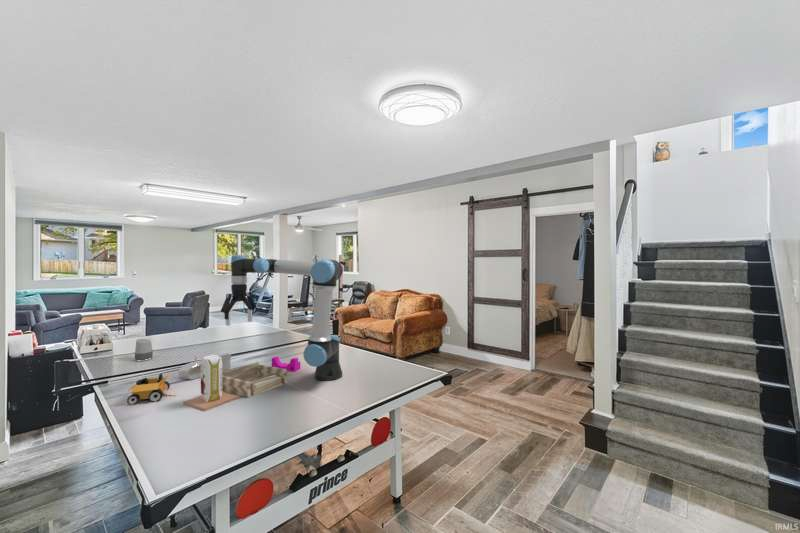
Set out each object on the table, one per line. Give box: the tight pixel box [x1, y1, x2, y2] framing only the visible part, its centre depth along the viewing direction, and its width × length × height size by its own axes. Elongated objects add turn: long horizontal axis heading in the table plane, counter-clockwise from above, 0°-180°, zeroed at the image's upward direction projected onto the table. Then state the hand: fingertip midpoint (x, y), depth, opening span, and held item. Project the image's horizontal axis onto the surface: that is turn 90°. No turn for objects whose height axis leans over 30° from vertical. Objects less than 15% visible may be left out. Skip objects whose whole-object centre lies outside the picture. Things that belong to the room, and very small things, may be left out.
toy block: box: [271, 356, 301, 373], centre depth 203 cm, size 15×6×8 cm, turn 77°
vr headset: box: [178, 356, 201, 381], centre depth 187 cm, size 14×9×11 cm, turn 150°
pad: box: [182, 391, 240, 412], centre depth 156 cm, size 16×16×1 cm
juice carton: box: [200, 354, 223, 402], centre depth 156 cm, size 8×9×19 cm
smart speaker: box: [134, 338, 153, 361], centre depth 224 cm, size 10×9×14 cm
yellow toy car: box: [126, 373, 172, 405], centre depth 161 cm, size 15×15×11 cm
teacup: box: [217, 353, 232, 372], centre depth 194 cm, size 12×15×10 cm
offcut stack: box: [250, 375, 284, 396], centre depth 171 cm, size 7×16×5 cm, turn 145°
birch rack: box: [222, 361, 288, 399], centre depth 175 cm, size 23×23×8 cm
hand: (239, 323), depth 184 cm, fingers open, 13 cm apart
